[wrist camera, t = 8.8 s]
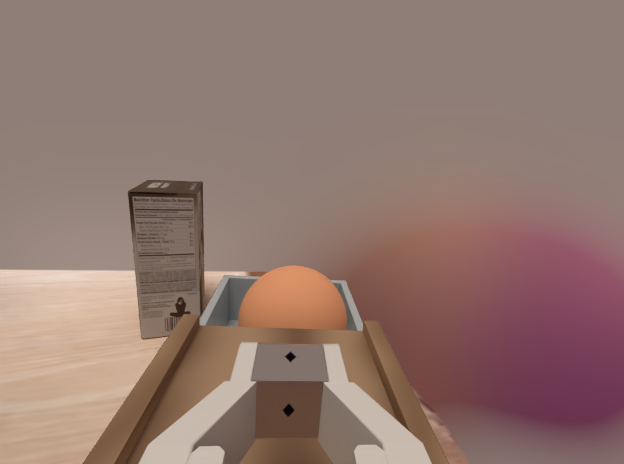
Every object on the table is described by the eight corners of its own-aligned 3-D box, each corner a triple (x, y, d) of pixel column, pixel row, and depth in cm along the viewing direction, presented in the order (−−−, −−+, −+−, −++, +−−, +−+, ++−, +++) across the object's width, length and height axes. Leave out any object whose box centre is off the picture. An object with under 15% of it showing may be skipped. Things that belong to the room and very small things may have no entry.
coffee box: (154, 299, 39) (146, 178, 35) (205, 295, 41) (203, 181, 37) (139, 341, 31) (125, 189, 27) (203, 333, 33) (200, 191, 29)
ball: (230, 261, 30) (228, 359, 30) (254, 276, 20) (250, 418, 21) (318, 259, 34) (316, 345, 34) (371, 271, 25) (367, 389, 25)
